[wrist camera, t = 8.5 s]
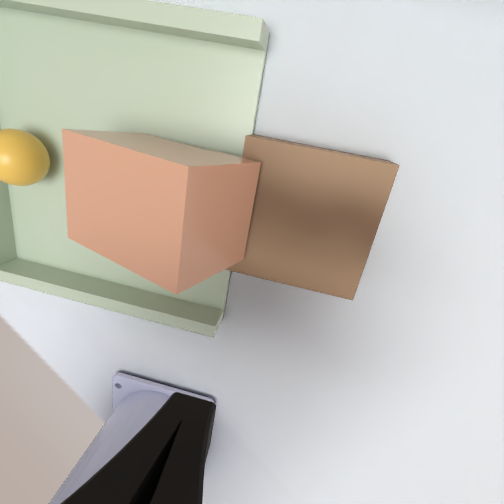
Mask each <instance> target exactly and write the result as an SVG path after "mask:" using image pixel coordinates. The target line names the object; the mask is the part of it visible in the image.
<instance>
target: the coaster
mask: <svg viewBox="0 0 504 504" xmlns="http://www.w3.org/2000/svg"><path fill="white" fill-rule="evenodd" d="M242 157H243V158H246V159H250V160H254V161H258V162H261V165H260V171H259V176H258V182H257V187H256V193H255V198H254V204H253V210H252V215H251V221H250V226H249V232H248V237H247V243H246V248H245V254H244V259H243V260H242V261H240V262H238V263H236V264H234V265H232V266H230V267H228V268H226V269H225V270H229V271H233V272H238V273H242V274H246V275H250V276H254V277H258V278H262V279H267V280H271V281H275V282H279V283H283V284H287V285H291V286H296V287H300V288H304V289H308V290H312V291H316V292H320V293H325V294H329V295H333V296H337V297H341V298H345V299H349V300H353V298H354V295H355V293H356V290H357V287H358V284H359V281H360V278H361V275H362V272H363V269H364V267H365V264H366V261H367V258H368V255H369V252H370V249H371V246H372V243H373V241H374V238H375V235H376V232H377V229H378V226H379V223H380V220H381V217H382V215H383V212H384V209H385V206H386V203H387V200H388V197H389V194H390V191H391V189H392V186H393V183H394V180H395V177H396V174H397V171H398V168H399V165H397V164H395V163H393V162H391V161H387V160H382V159H377V158H372V157H367V156H361V155H356V154H351V153H346V152H341V151H336V150H331V149H326V148H320V147H315V146H310V145H305V144H300V143H295V142H290V141H285V140H279V139H274V138H269V137H264V136H259V135H254V134H252V135H246V136H245V142H244V149H243V155H242Z"/></svg>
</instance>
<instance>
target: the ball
mask: <svg viewBox="0 0 504 504" xmlns="http://www.w3.org/2000/svg"><path fill="white" fill-rule="evenodd" d="M49 167H50V157H49V153H48V151H47V149H46V147H45V146H44V144H43V143H42V142H41V141H40V140H39V139H38V138H36V137H35V136H34V135H32V134H30V133H28V132H26V131H23V130H19V129H2V130H0V180H1V181H3V182H5V183H7V184H11V185H15V186H28V185H32V184H35V183H37V182H39V181H40V180H42V179H43V178H44V177H45V176H46V174H47V173H48V171H49Z"/></svg>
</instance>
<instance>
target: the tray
mask: <svg viewBox="0 0 504 504" xmlns="http://www.w3.org/2000/svg"><path fill="white" fill-rule="evenodd" d="M269 35H270V32H269V30H268V28H267V26H266V24H265V22H264V20H263V18H258V17H252V16H245V15H239V14H232V13H226V12H220V11H213V10H207V9H200V8H194V7H188V6H181V5H175V4H168V3H162V2H156V1H149V0H0V130H2V129H19V130H23V131H26V132H28V133H30V134H32V135H34V136H35V137H36V138H38V139H39V140H40V141H41V142H42V143H43V144H44V146H45V147H46V149H47V151H48V153H49V157H50V167H49V171H48V173H47V174H46V176H45V177H44V178H43V179H42V180H40V181H39V182H37V183H35V184H32V185H28V186H15V185H11V184H7V183H5V182H3V181H1V180H0V281H2V282H6V283H10V284H14V285H17V286H21V287H25V288H29V289H32V290H36V291H40V292H44V293H48V294H51V295H55V296H59V297H63V298H66V299H70V300H74V301H78V302H81V303H85V304H89V305H93V306H97V307H100V308H104V309H108V310H112V311H115V312H119V313H123V314H127V315H131V316H134V317H138V318H142V319H146V320H149V321H153V322H157V323H161V324H164V325H168V326H172V327H176V328H180V329H183V330H187V331H191V332H195V333H198V334H202V335H206V336H210V337H214V335H215V333H216V331H217V329H218V327H219V325H220V323H221V321H222V319H223V315H224V309H225V303H226V297H227V291H228V285H229V279H230V273H231V271H229V270H223V271H221V272H219V273H217V274H215V275H213V276H211V277H209V278H208V279H206V280H204V281H202V282H200V283H198V284H196V285H194V286H192V287H190V288H189V289H187V290H185V291H183V292H181V293H179V294H177V295H176V294H174V293H172V292H170V291H168V290H166V289H164V288H162V287H160V286H159V285H157V284H155V283H153V282H151V281H149V280H147V279H145V278H143V277H141V276H140V275H138V274H136V273H134V272H132V271H130V270H128V269H126V268H124V267H122V266H121V265H119V264H117V263H115V262H113V261H111V260H109V259H107V258H105V257H103V256H102V255H100V254H98V253H96V252H94V251H92V250H90V249H88V248H86V247H85V246H83V245H81V244H79V243H77V242H75V241H73V240H71V239H69V238H68V230H67V212H66V194H65V176H64V159H63V141H62V129H77V130H95V131H112V132H129V133H145V134H149V135H153V136H157V137H160V138H164V139H168V140H172V141H176V142H179V143H183V144H187V145H191V146H194V147H198V148H202V149H206V150H210V151H220V152H223V153H227V154H231V155H235V156H239V157H242V155H243V149H244V142H245V136H246V135H252V134H253V133H254V127H255V120H256V114H257V108H258V102H259V96H260V90H261V84H262V78H263V72H264V66H265V60H266V53H267V47H268V41H269Z"/></svg>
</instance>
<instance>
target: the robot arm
mask: <svg viewBox="0 0 504 504" xmlns="http://www.w3.org/2000/svg"><path fill="white" fill-rule="evenodd" d="M215 410H216V405H215V402H214V401H213V400H212V399H211V398H208V397H204V396H201V395H197V394H194V393H190V392H187V391H183V390H180V389H176V388H173V387H169V386H166V385H162V384H159V383H155V382H152V381H148V380H145V379H141V378H138V377H134V376H131V375H127V374H124V373H116V374H115V375H114V377H113V413H112V414H111V416H110V417H109V419H108V420H107V422H106V423H105V424H104V426H103V427H102V429H101V430H100V432H99V433H98V434H97V436H96V437H95V439H94V440H93V441H92V443H91V444H90V446H89V447H88V449H87V450H86V451H85V453H84V454H83V456H82V457H81V458H80V460H79V461H78V463H77V464H76V466H75V467H74V469H73V470H72V471H71V473H70V474H69V475H68V477H67V478H66V480H65V481H64V483H63V484H62V485H61V487H60V488H59V490H58V491H57V493H56V494H55V495H54V497H53V498H52V500H51V501H50V502H49V504H202V496H203V478H204V466H205V461H206V457H207V453H208V450H209V446H210V441H211V435H212V428H213V422H214V416H215Z"/></svg>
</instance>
